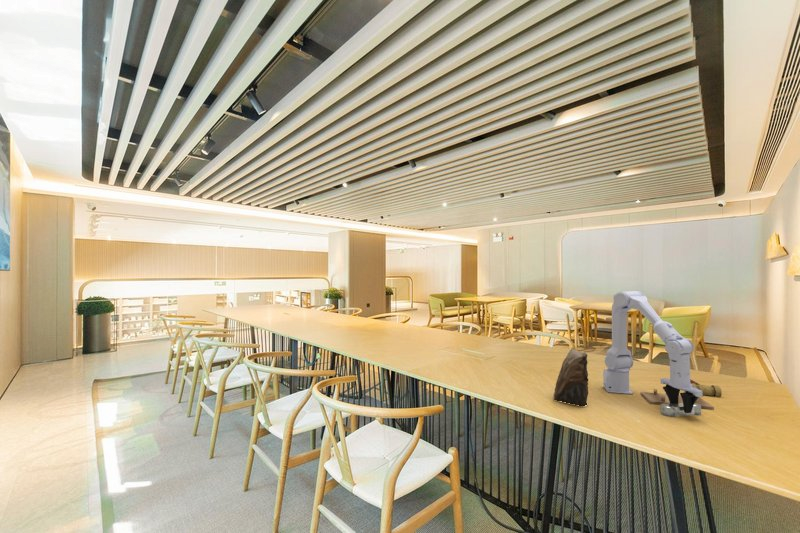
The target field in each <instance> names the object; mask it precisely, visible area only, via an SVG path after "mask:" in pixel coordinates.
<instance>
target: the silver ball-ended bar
mask: <svg viewBox="0 0 800 533" xmlns="http://www.w3.org/2000/svg"><path fill="white" fill-rule="evenodd" d="M660 414H661V415H662V416H665V417H668V418H675V417H681V416H682V417H683V416H701V415H702V409H701V405H700V404H698V403H694V406H693V408H692V412H691V413H685V412H684V407H683V403H676V404H661V405H660Z"/></svg>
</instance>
